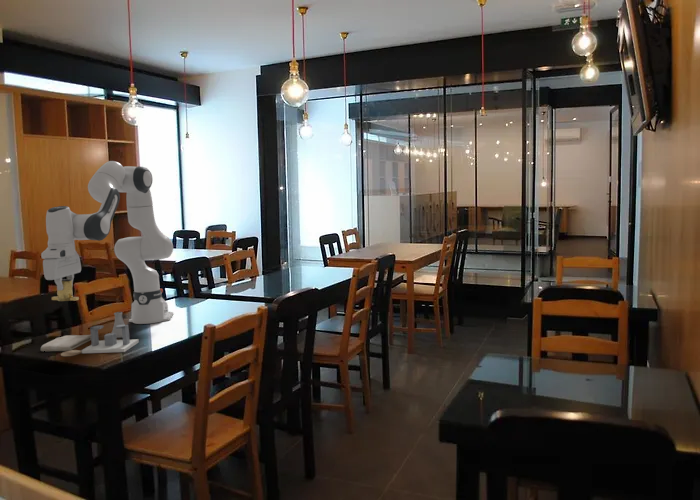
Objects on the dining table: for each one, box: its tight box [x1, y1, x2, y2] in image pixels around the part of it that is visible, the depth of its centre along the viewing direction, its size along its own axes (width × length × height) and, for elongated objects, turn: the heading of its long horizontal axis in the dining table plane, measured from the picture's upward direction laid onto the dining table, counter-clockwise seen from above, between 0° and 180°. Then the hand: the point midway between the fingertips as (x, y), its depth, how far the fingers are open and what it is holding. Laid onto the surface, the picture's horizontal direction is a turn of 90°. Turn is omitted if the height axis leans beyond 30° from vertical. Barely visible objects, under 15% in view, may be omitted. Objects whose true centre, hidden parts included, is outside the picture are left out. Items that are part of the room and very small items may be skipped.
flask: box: [111, 311, 130, 339], centre depth 243 cm, size 7×7×10 cm
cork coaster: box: [60, 349, 83, 357], centre depth 219 cm, size 7×7×1 cm
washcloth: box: [40, 334, 91, 352], centre depth 232 cm, size 12×18×3 cm, turn 177°
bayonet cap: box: [51, 278, 80, 302], centre depth 216 cm, size 5×9×8 cm, turn 84°
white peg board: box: [81, 324, 140, 354], centre depth 225 cm, size 14×16×8 cm
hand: (65, 288), depth 216 cm, fingers closed on bayonet cap, 5 cm apart
